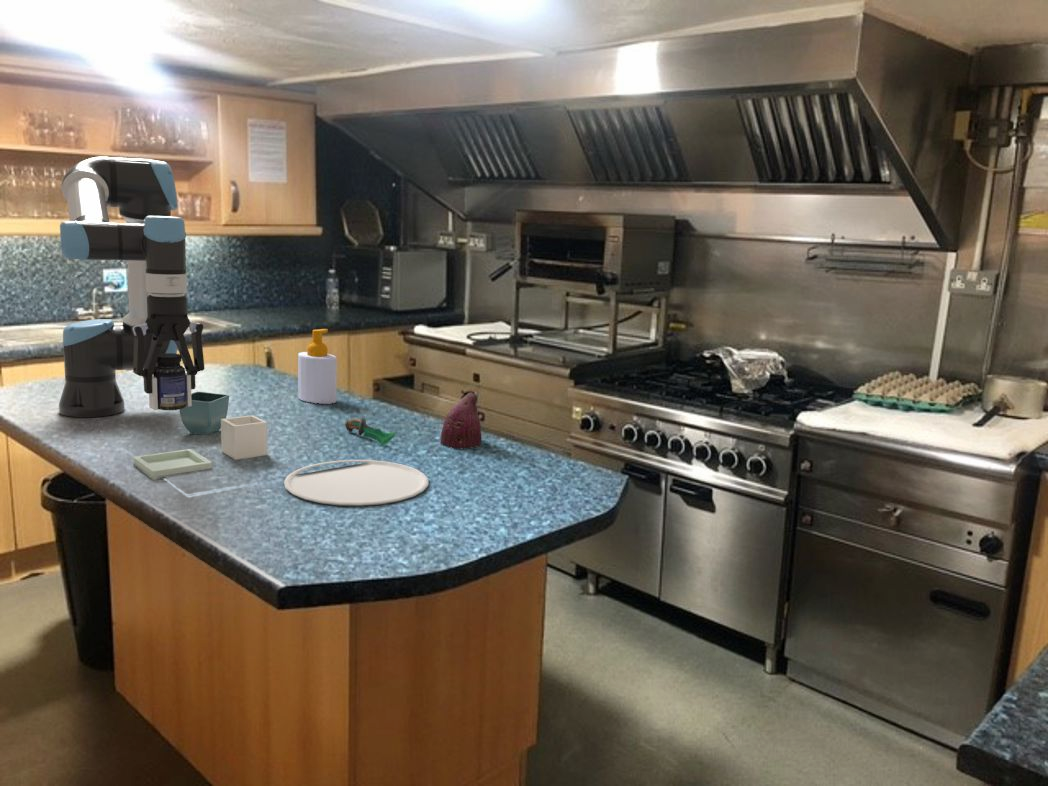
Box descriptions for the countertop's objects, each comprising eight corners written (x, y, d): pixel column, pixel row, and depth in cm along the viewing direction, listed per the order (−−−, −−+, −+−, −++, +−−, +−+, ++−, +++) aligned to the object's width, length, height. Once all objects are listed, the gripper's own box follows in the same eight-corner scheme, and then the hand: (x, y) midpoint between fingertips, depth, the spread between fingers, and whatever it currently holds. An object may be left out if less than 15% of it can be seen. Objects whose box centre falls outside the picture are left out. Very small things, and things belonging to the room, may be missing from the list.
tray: (133, 464, 180) (133, 456, 180) (190, 456, 188) (190, 448, 188) (152, 480, 172) (152, 471, 171) (212, 470, 179) (212, 462, 179)
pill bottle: (192, 406, 179) (191, 354, 177) (172, 412, 174) (170, 358, 171) (168, 403, 181) (167, 351, 179) (147, 408, 175) (145, 355, 173)
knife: (343, 432, 216) (343, 412, 214) (349, 430, 217) (349, 411, 216) (393, 451, 201) (394, 431, 200) (400, 450, 202) (400, 429, 201)
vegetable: (485, 454, 214) (505, 398, 211) (465, 458, 204) (485, 400, 201) (450, 437, 218) (469, 382, 215) (429, 441, 208) (449, 383, 205)
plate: (361, 520, 157) (361, 514, 156) (252, 487, 172) (252, 481, 171) (457, 483, 181) (457, 477, 181) (354, 456, 196) (354, 451, 196)
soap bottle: (344, 401, 248) (344, 331, 244) (323, 406, 241) (323, 334, 237) (311, 394, 255) (311, 326, 250) (290, 398, 248) (289, 328, 244)
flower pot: (211, 438, 203) (210, 401, 201) (177, 435, 204) (176, 398, 203) (230, 430, 211) (230, 394, 209) (198, 426, 213) (197, 391, 211)
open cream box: (221, 453, 191) (220, 419, 190) (253, 449, 196) (252, 415, 194) (235, 462, 186) (234, 426, 184) (267, 457, 191) (267, 422, 189)
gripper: (122, 297, 163) (127, 415, 168) (221, 295, 176) (223, 405, 181) (110, 293, 169) (116, 408, 174) (206, 291, 181) (209, 398, 186)
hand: (170, 406), depth 177 cm, fingers closed on pill bottle, 6 cm apart
